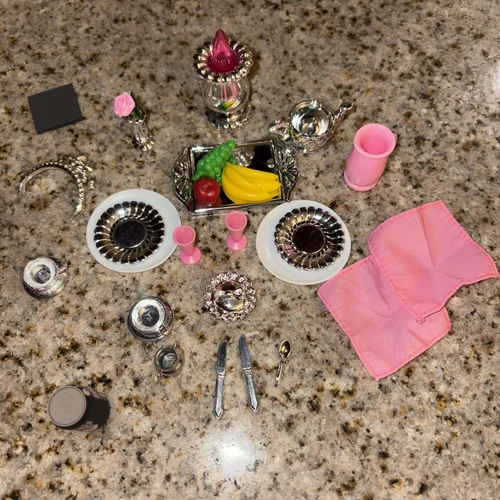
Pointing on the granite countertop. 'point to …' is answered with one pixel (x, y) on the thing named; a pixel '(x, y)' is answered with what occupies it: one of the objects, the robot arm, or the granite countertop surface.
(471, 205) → the granite countertop surface
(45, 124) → the mat
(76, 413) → the beverage can
